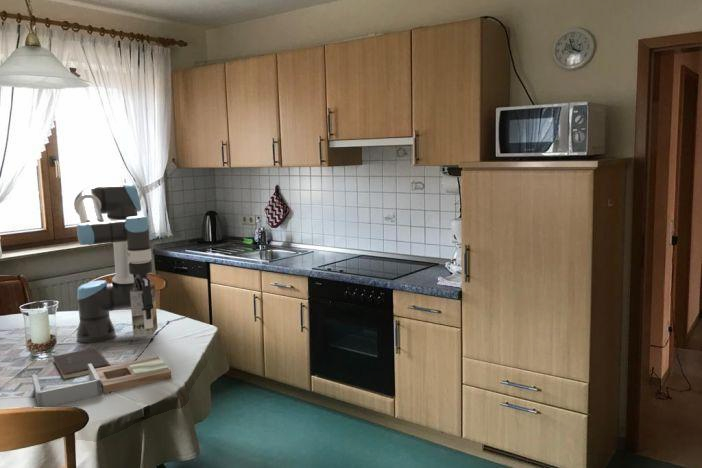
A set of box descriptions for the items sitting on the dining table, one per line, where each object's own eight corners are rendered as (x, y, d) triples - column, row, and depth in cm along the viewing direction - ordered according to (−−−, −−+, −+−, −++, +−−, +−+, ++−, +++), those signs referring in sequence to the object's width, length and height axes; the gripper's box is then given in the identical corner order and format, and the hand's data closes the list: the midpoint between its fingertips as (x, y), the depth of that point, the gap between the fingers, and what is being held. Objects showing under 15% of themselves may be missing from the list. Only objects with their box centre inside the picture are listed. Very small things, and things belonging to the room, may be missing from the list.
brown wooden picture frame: (94, 375, 216) (94, 368, 215) (158, 362, 227) (157, 355, 227) (103, 393, 201) (103, 385, 200) (171, 378, 212) (171, 370, 211)
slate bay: (33, 389, 205) (32, 374, 205) (92, 377, 215) (91, 363, 214) (38, 408, 190) (36, 393, 189) (102, 394, 199) (100, 380, 198)
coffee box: (152, 336, 210) (148, 290, 208) (133, 337, 209) (129, 291, 207) (158, 328, 219) (154, 284, 217) (139, 329, 219) (136, 284, 216)
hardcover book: (63, 380, 214) (62, 374, 213) (53, 362, 233) (52, 356, 232) (111, 370, 222) (110, 364, 222) (98, 353, 241) (97, 347, 241)
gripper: (121, 257, 218) (126, 318, 222) (136, 268, 199) (141, 334, 202) (143, 255, 222) (148, 314, 225) (159, 265, 203) (164, 330, 206)
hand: (145, 324), depth 214 cm, fingers closed on coffee box, 10 cm apart
